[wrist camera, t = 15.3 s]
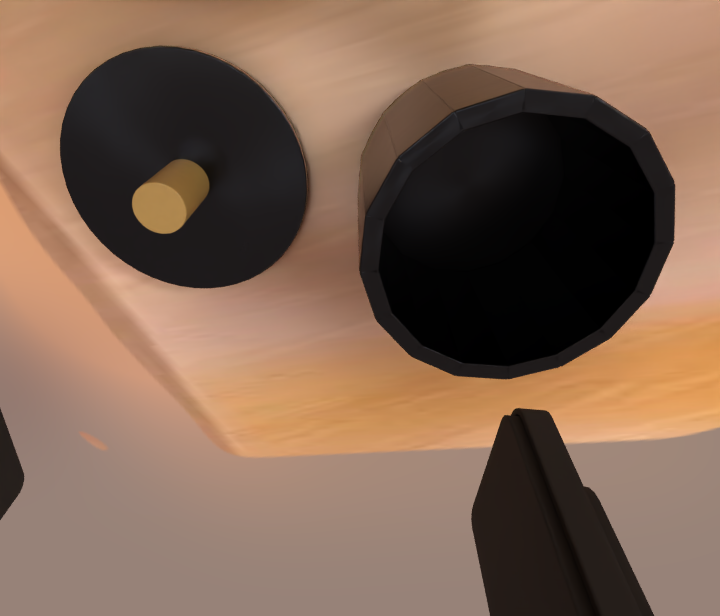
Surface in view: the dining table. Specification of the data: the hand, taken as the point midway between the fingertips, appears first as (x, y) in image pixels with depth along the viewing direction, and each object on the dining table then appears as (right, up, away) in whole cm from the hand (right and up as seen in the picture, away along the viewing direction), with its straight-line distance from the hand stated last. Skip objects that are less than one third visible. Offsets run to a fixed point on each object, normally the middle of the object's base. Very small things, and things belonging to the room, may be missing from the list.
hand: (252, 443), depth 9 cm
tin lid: (-8, +10, +19) cm, 23 cm away
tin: (+8, +10, +20) cm, 24 cm away
